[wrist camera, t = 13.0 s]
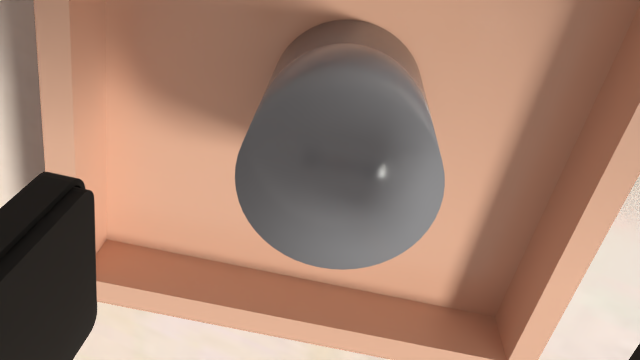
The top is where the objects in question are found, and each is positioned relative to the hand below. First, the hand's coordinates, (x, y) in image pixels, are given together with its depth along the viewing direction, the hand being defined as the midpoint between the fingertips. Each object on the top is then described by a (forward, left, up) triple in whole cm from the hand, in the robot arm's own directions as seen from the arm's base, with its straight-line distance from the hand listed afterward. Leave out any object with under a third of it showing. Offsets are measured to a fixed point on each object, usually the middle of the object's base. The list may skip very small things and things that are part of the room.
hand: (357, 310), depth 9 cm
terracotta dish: (+1, 0, -11) cm, 11 cm away
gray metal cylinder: (+1, 0, -10) cm, 10 cm away
